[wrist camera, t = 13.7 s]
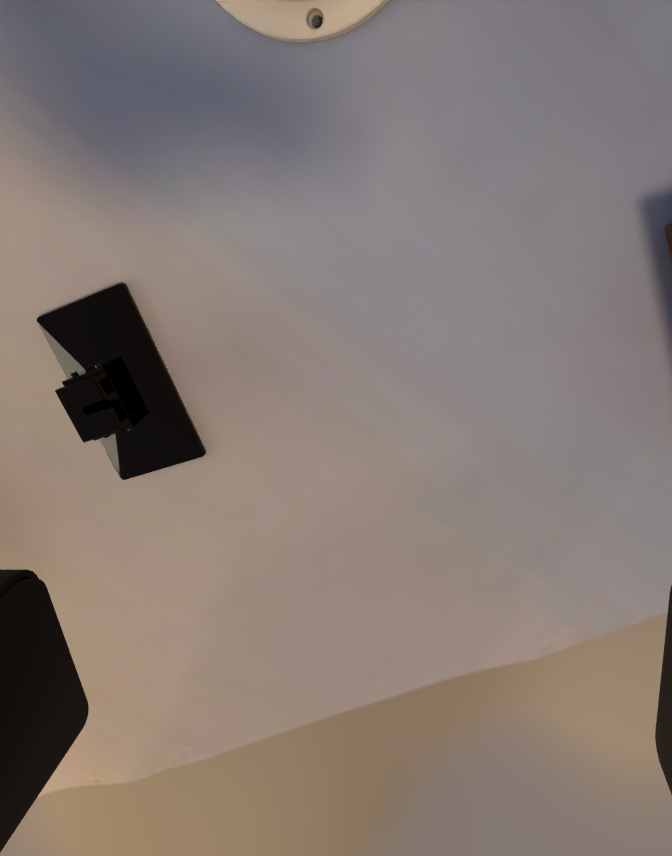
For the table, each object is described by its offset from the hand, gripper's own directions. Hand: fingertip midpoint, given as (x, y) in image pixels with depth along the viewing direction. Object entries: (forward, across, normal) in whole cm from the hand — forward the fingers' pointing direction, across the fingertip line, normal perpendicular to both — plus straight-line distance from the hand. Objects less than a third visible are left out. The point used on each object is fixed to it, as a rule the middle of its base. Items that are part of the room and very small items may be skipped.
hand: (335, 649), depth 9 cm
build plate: (+28, +20, +4) cm, 35 cm away
